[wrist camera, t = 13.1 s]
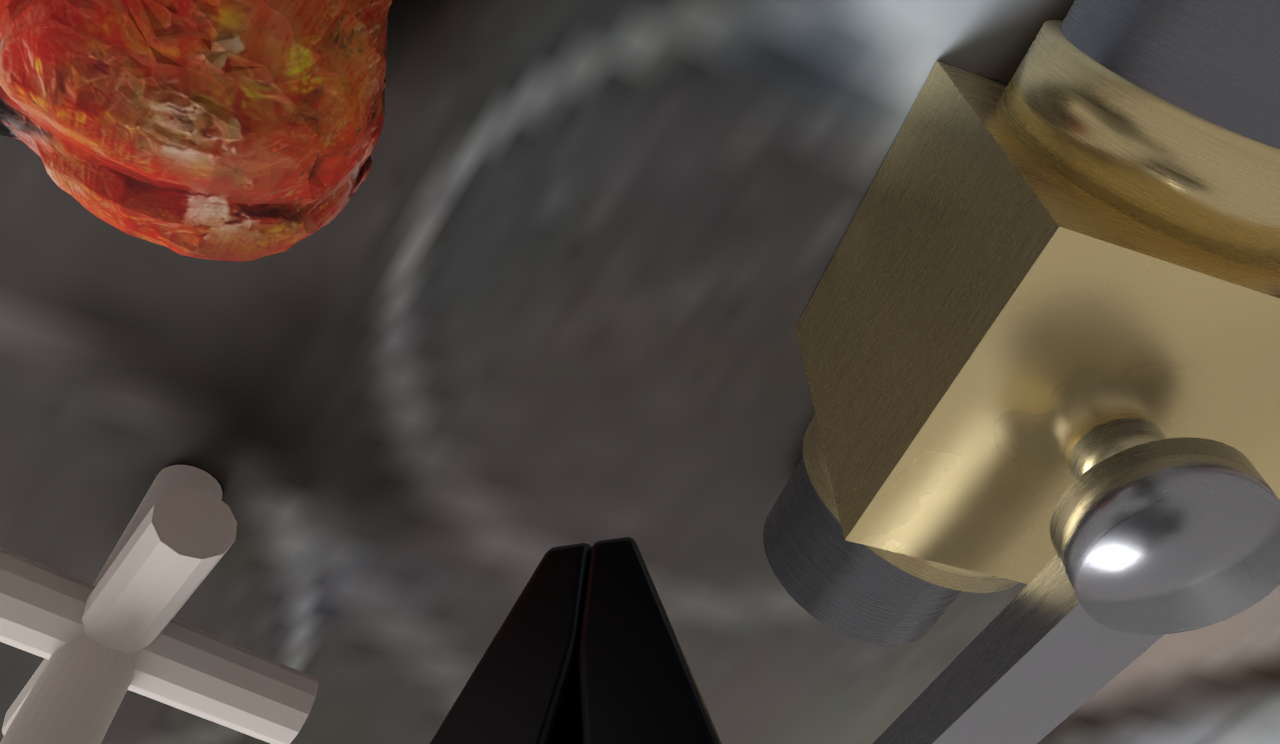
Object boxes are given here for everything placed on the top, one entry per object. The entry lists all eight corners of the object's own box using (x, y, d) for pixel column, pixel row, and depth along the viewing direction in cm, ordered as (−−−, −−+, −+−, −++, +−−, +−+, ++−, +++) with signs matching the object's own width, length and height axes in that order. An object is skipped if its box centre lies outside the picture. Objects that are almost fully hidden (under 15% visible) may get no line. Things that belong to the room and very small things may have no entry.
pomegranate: (386, -294, 17) (-322, -318, 12) (615, -170, 14) (-274, -130, 8) (400, 77, 22) (-96, 170, 17) (569, 244, 19) (-3, 425, 14)
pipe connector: (73, 275, 22) (-241, 620, 14) (434, 469, 26) (344, 826, 18) (-48, 506, 27) (-336, 862, 19) (272, 641, 31) (145, 984, 23)
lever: (1107, 368, 15) (1204, 517, 12) (1266, 424, 15) (1389, 575, 13) (716, 818, 23) (726, 961, 21) (830, 840, 24) (852, 981, 21)
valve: (1081, -212, 16) (1384, -121, 10) (1399, -73, 18) (1857, 89, 11) (720, 467, 26) (748, 743, 19) (943, 523, 27) (1040, 798, 21)
